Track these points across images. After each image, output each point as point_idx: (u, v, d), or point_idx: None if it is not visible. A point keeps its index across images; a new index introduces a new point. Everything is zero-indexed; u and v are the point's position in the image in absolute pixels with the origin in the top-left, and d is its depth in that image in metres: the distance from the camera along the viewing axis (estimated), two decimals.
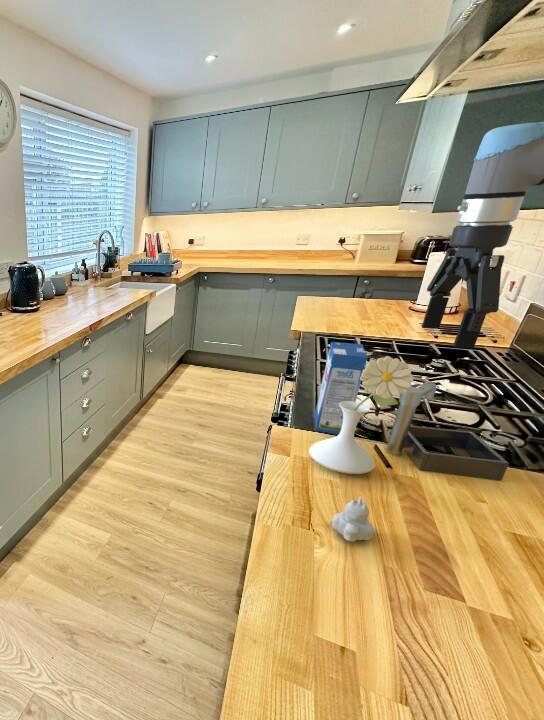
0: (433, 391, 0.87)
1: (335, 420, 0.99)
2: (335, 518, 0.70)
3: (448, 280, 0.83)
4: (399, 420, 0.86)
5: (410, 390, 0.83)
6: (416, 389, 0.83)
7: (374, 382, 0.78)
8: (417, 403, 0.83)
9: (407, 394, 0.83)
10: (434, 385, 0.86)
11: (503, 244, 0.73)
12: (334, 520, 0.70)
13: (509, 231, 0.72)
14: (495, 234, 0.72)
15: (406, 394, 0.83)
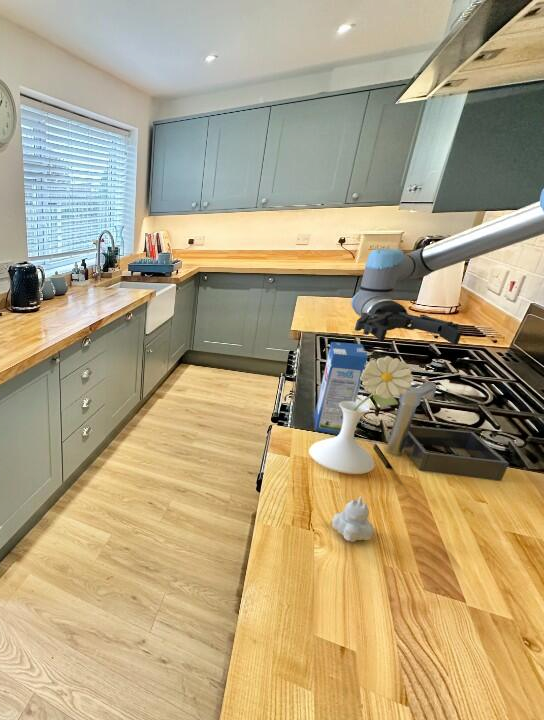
0: (433, 391, 0.87)
1: (335, 420, 0.99)
2: (335, 518, 0.70)
3: (420, 327, 1.03)
4: (399, 420, 0.86)
5: (410, 390, 0.83)
6: (416, 389, 0.83)
7: (374, 382, 0.78)
8: (417, 403, 0.83)
9: (407, 394, 0.83)
10: (434, 385, 0.86)
11: (378, 307, 1.10)
12: (334, 520, 0.70)
13: (376, 304, 1.12)
14: (370, 313, 1.13)
15: (406, 394, 0.83)
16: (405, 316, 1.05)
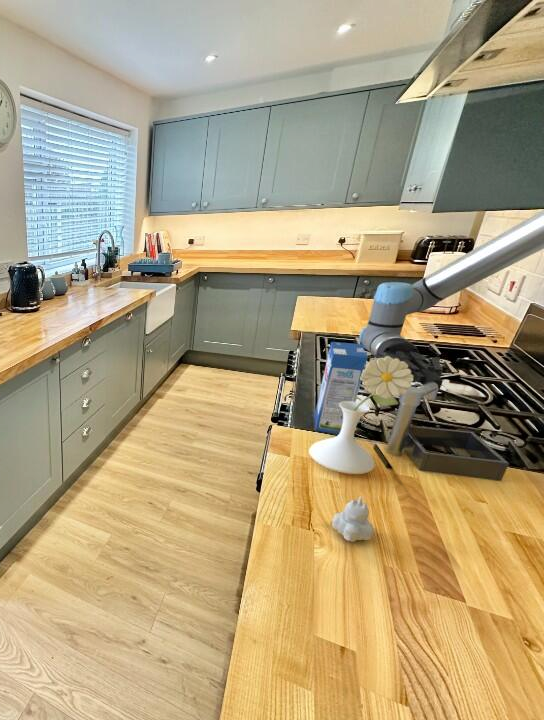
0: (435, 392, 0.86)
1: (335, 420, 0.99)
2: (335, 518, 0.70)
3: None
4: (399, 420, 0.86)
5: (410, 390, 0.83)
6: (416, 389, 0.83)
7: (374, 382, 0.78)
8: (417, 403, 0.83)
9: (407, 394, 0.83)
10: (436, 386, 0.86)
11: (387, 345, 1.05)
12: (334, 520, 0.70)
13: (385, 342, 1.07)
14: (378, 350, 1.08)
15: (406, 394, 0.83)
16: (411, 356, 1.00)
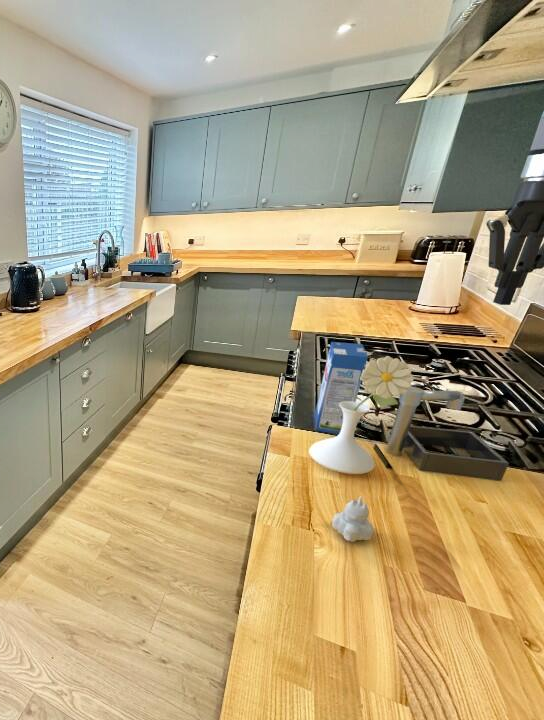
0: (456, 401, 0.82)
1: (335, 420, 0.99)
2: (335, 518, 0.70)
3: (526, 243, 0.83)
4: (399, 420, 0.86)
5: (407, 389, 0.84)
6: (416, 390, 0.83)
7: (374, 382, 0.78)
8: (411, 403, 0.83)
9: None
10: (458, 395, 0.82)
11: (528, 199, 0.78)
12: (334, 520, 0.70)
13: (536, 187, 0.77)
14: (519, 189, 0.80)
15: None
16: (541, 223, 0.80)
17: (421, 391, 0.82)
